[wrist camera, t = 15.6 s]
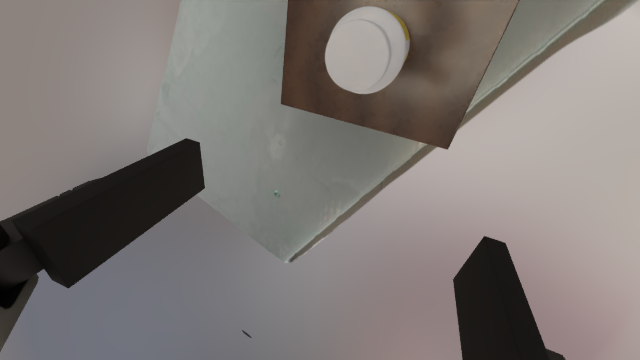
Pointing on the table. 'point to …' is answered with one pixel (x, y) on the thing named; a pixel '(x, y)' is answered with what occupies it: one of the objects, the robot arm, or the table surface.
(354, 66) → the pill bottle
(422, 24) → the shelf
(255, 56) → the table surface
